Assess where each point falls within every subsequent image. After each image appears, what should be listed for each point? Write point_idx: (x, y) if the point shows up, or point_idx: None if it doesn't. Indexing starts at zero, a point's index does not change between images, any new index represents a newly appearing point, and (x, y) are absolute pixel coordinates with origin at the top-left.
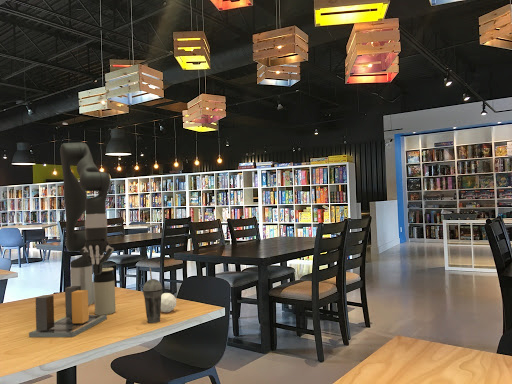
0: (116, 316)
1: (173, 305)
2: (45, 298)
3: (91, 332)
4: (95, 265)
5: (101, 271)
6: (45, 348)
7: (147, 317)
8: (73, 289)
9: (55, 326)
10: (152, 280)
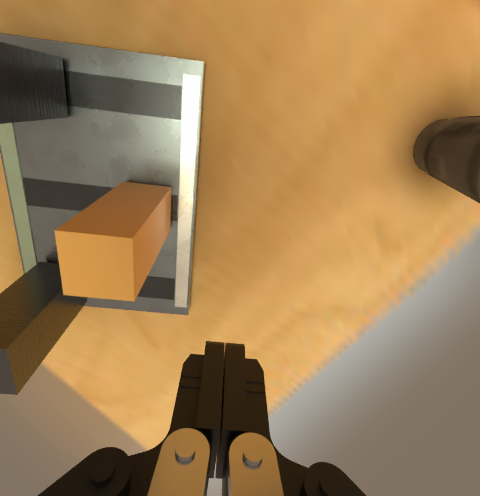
0: (238, 11)
1: None
2: (16, 391)
3: (228, 266)
4: (211, 468)
5: (259, 376)
6: (168, 379)
7: (426, 170)
8: None
9: None
10: None
